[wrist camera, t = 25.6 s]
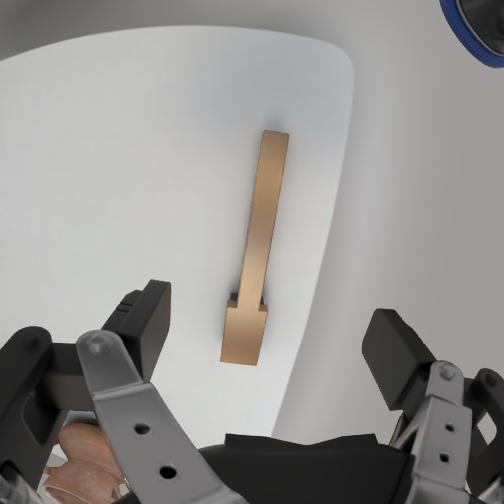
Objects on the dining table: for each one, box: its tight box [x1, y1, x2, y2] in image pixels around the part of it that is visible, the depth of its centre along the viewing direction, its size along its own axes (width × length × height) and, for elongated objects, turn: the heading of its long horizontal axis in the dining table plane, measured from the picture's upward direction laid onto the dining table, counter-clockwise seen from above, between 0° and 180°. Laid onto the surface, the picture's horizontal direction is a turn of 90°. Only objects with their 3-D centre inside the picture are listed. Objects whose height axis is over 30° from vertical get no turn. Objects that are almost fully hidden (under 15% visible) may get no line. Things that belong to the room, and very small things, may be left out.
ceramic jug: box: [42, 423, 125, 504], centre depth 29 cm, size 18×14×14 cm
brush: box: [220, 130, 289, 366], centre depth 24 cm, size 20×3×3 cm, turn 171°
